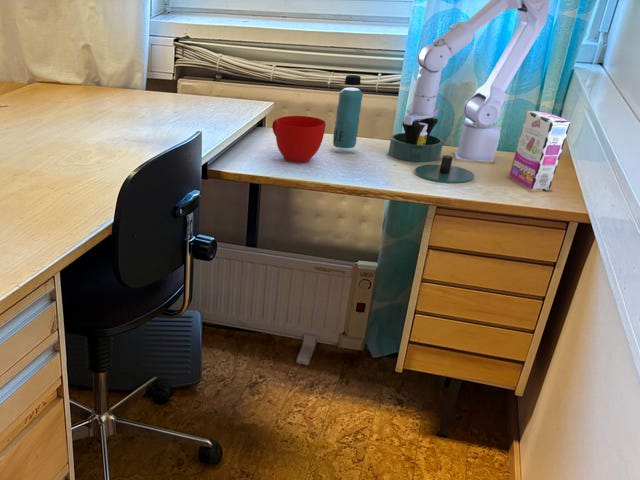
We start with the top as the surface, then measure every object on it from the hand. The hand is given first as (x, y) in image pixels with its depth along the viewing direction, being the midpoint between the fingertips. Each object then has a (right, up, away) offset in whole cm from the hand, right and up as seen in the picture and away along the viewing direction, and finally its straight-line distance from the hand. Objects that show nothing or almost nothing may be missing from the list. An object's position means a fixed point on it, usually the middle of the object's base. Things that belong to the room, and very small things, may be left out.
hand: (415, 147), depth 191 cm
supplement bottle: (0, -2, +1) cm, 2 cm away
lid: (+2, -11, -14) cm, 18 cm away
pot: (0, -2, +1) cm, 3 cm away
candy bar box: (+22, -15, -18) cm, 32 cm away
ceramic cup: (-34, -3, +1) cm, 34 cm away
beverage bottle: (-18, +1, +7) cm, 19 cm away
